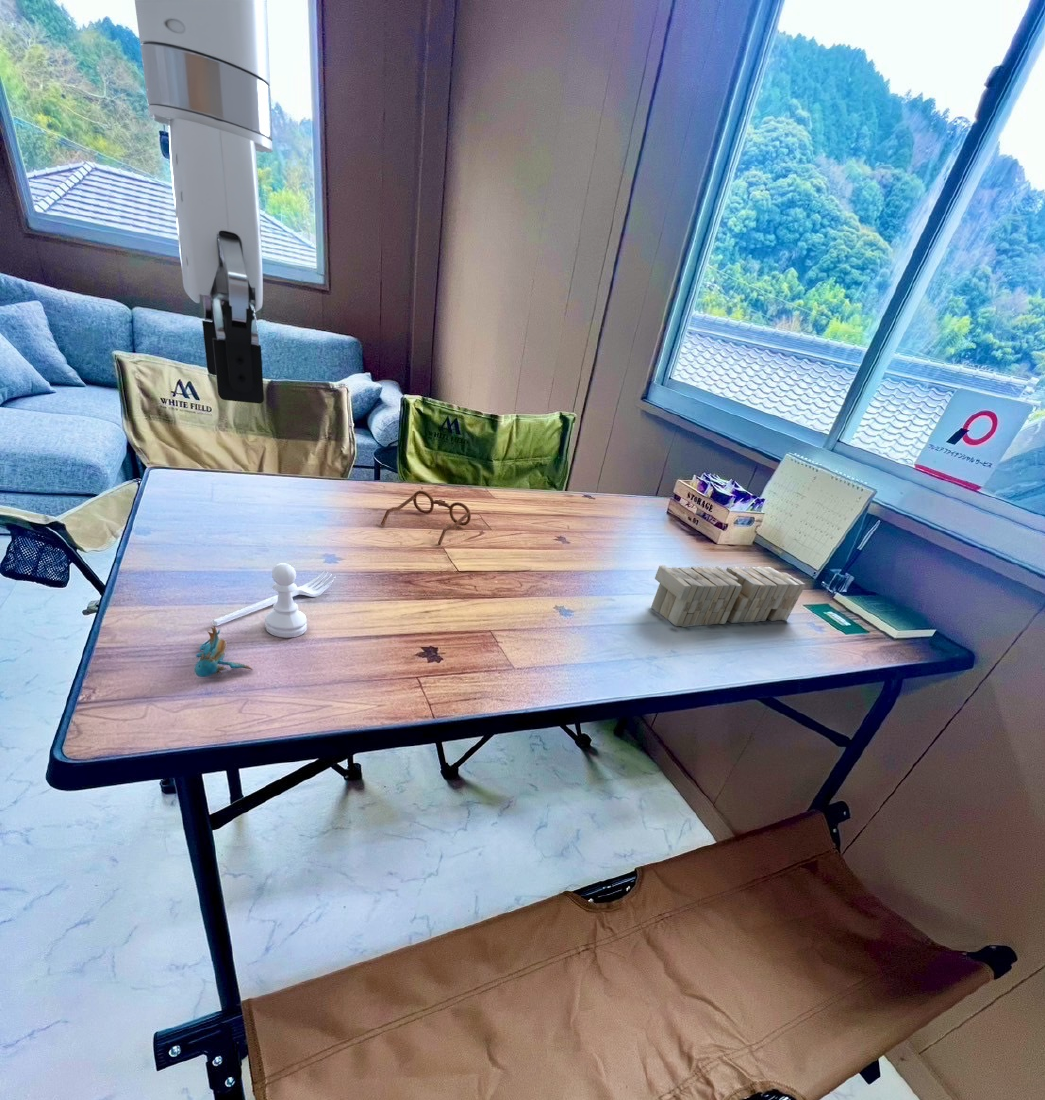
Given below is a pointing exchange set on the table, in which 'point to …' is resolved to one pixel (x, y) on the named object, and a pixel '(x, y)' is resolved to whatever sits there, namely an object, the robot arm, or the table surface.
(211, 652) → the dragon figurine
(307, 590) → the fork
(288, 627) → the chess pawn
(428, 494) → the glasses
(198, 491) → the table surface
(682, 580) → the block tower
